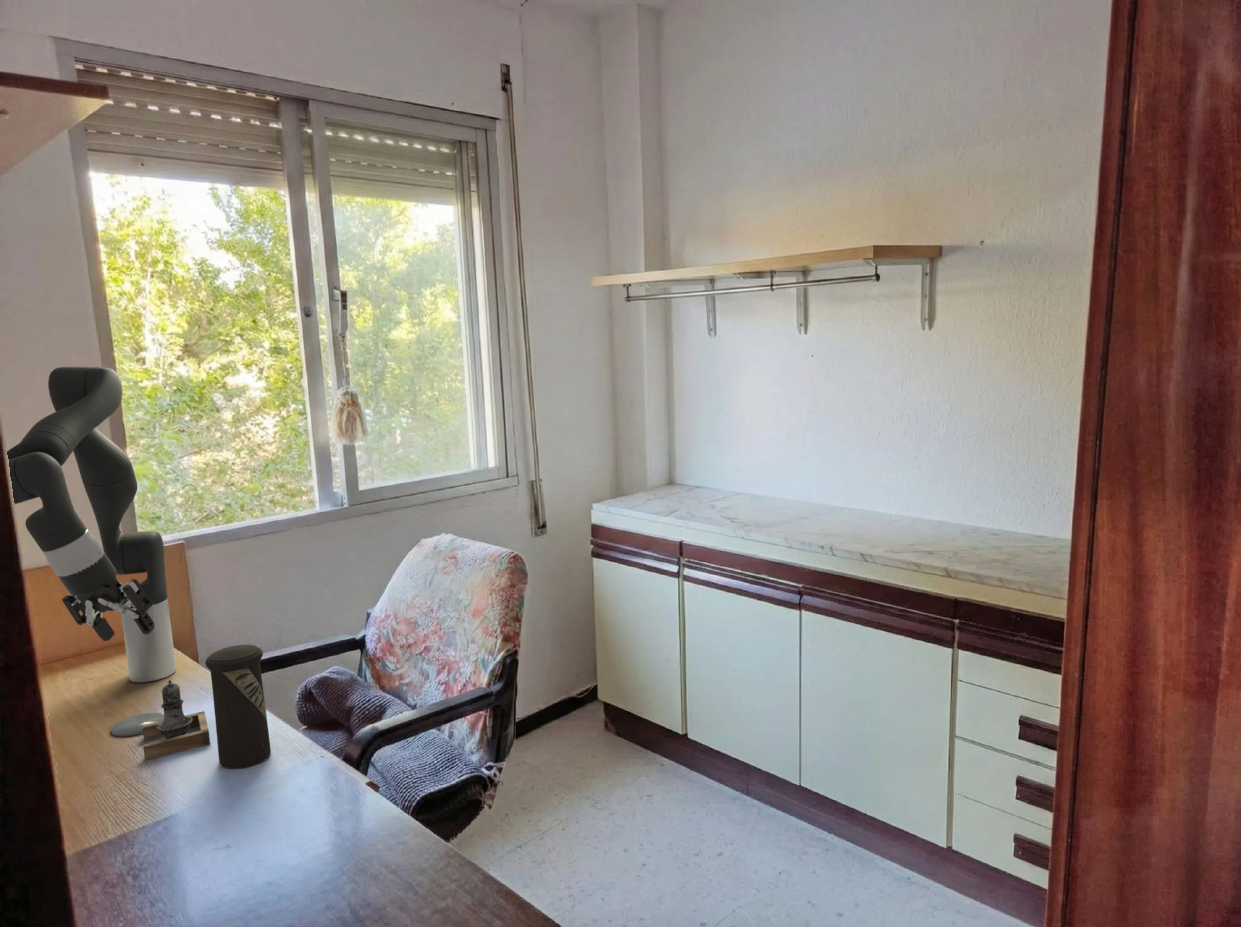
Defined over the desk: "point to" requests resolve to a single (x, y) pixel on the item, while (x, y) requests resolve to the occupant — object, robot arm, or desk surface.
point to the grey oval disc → (135, 724)
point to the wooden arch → (176, 738)
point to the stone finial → (173, 713)
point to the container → (239, 706)
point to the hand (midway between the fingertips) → (129, 634)
